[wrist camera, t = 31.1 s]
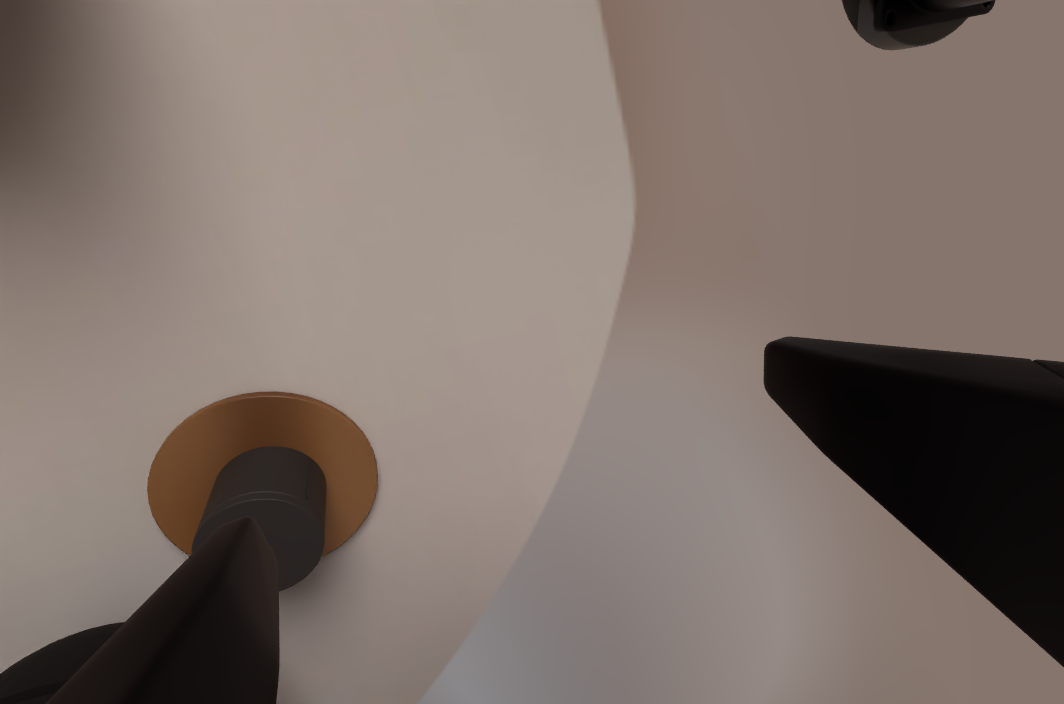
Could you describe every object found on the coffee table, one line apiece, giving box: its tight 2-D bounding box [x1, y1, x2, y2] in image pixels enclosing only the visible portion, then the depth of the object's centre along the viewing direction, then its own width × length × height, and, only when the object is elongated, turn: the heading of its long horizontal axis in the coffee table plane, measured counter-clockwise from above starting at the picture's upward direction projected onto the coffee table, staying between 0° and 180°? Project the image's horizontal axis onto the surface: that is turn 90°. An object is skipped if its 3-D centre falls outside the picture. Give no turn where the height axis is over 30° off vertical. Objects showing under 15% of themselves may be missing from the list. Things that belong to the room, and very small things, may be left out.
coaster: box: [147, 392, 378, 557], centre depth 20 cm, size 8×8×1 cm
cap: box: [191, 446, 327, 591], centre depth 19 cm, size 4×4×3 cm
